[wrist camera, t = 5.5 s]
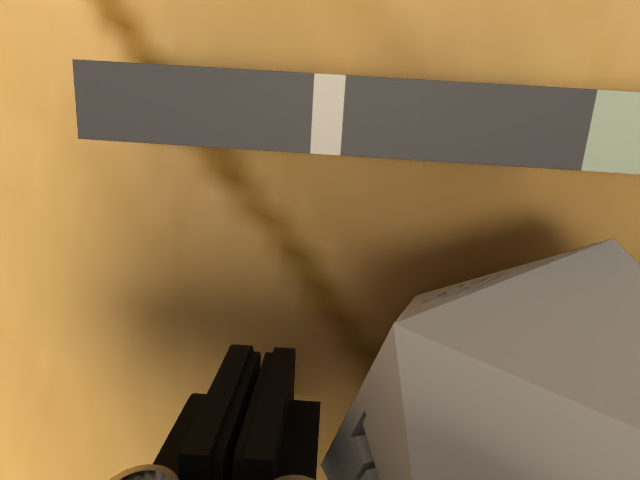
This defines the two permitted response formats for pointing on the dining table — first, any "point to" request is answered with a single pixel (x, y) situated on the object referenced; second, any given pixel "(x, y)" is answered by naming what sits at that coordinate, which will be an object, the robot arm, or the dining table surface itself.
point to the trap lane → (359, 116)
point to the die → (506, 379)
